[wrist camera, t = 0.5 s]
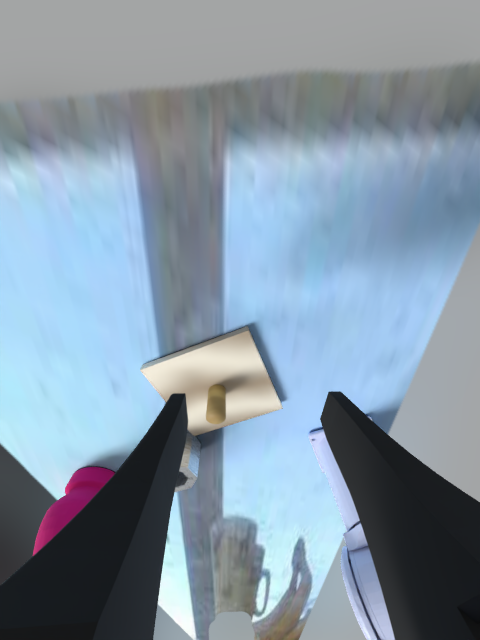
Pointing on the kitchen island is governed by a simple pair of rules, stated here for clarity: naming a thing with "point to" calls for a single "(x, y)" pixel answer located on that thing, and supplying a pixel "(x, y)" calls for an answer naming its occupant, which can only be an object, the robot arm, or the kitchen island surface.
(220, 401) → the post block
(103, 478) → the pepper mill
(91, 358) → the kitchen island surface
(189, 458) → the collar
